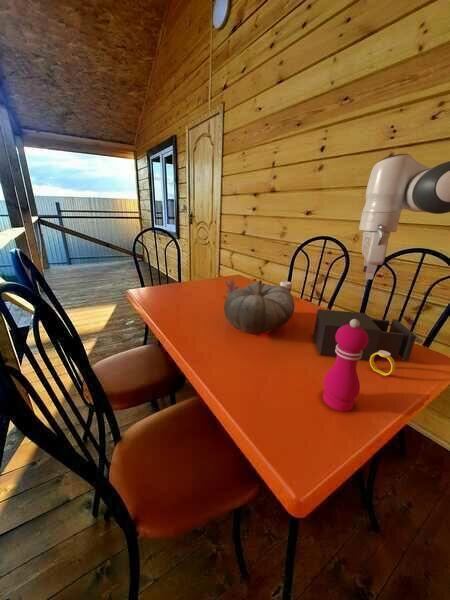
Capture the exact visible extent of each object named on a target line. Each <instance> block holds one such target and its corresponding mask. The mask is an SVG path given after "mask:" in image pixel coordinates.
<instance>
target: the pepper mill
mask: <svg viewBox="0 0 450 600" xmlns="http://www.w3.org/2000/svg"><path fill="white" fill-rule="evenodd" d="M359 325H360V322H359V321H358V320H357V319H352V320H351V321H350V325H344V326H342V327H340V328H339V329H338V330H337V332H336V336H335V338H336V342H337V343H338V344H337V345H336V349H335V352H336V353H337V357H335V358H336V359H335V361H334V364H333V365H332V366H331V368H329V370H328V371H327V372H326V373H325V376H324V378H323V387H324V390H323V393H322V400H323V402H324V403H325V404H326V405H327V406H328V407H329V408H331V409H333V410H336V411H339V412H348V411H350V410H352V409H353V408H354V404H355V398H357V397H358V396H359V394H360V392H361V391H360V389H361V385H360V384H361V383H360V378H359V375H358V372H357V365H358V362H359V361H360V360H359V359H361V357H362V353H363V351H362V350H363V349H364V348H366V346H367V344H368V335H367V333H366V331H365V330H364V329H362V328H361V327H359Z"/></svg>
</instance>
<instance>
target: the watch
mask: <svg viewBox="0 0 450 600" xmlns="http://www.w3.org/2000/svg"><path fill="white" fill-rule="evenodd" d="M377 354H378V355H377ZM390 355H391V354H390V353H389V352H387V351H383V350H380V351H378V352H377V353H374V354H373V355H372V356H371V357H370V361H369V364H370V367H371V368H372V370H373V371H374V372H376V373H378V374H380V375H382V376H384V377H386V376H389V375H392V374H393V373H394V372H395V370H396V362H395V360H394V357H391V356H390ZM376 356H380V357H381V358H384V359H387V360H388V361H389V363H390V371H389V372H386V371H383V370H381V369H379V368H378V367H377V366H376V363H375V357H376Z"/></svg>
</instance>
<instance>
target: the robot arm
mask: <svg viewBox="0 0 450 600" xmlns="http://www.w3.org/2000/svg"><path fill="white" fill-rule="evenodd" d="M403 210H408V211H411V212H414V213H428V214H435V215H442V214H447V213H450V160H449V161H445V162H442V163H439V164H438V165H436V166H434V167H430V166H427V165H425V164H423V163H421V162H419V161H418V160H416V159H415V158H414V157H413V156H412V155H411V154H410V153H398V154H394V155H389V156H385V157H384V158H381V159H380V160H379V161H377V162H376V163H375V164H374V165H373V167H372V169H371V172H370V174H369V178H368V182H367V185H366V189H365V203H364V207H363V209H362V211H361V217H360V220H359V225H358V231H363V233H362V241H361V243H362V244H361V254H362V256H363V266H362V272H363V273H365V275H364V277H365V280H374V276H375V273H376V270H377V269H378V266H382V265H383V264H384V262H385V259H386V255H387V250H388V249H387V248H388V245H389V239H390V236H391V233H397V230H398V226H399V223H400V219H401V214H402V211H403Z"/></svg>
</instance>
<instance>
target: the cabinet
mask: <svg viewBox="0 0 450 600" xmlns="http://www.w3.org/2000/svg"><path fill="white" fill-rule="evenodd" d="M352 319H357V320H358V321H359V322H360V325H359V327H361V328H362V329H364V330H365V331H366V333H367V335H368V344H367V346H366V348H364V349H363V350H362V351H363V353H362V357H361V359H359V360H358V361H369V362H370V357H371V356H372V355H373V354H374V353H376V350H377V346H378V342H379V338H380V334H381V331H382V330H381V329H380V328H379V327H378V326H377V325H376V324H375V323H374V322H373V321H372V320H371V319H372V318H371V317H369V315H368V314H367V313H366V312H355V311H345V310H343V311H342V310H333V309H332V310H331V309H321V308H317V310H316V317H315V323H314V329H313V339H314V341H315V345H316V347H317V351H318V353H319V355H320V356H324V357H334V358H337V353H336V352H335V349H336V345H337V344H338V343H337V342H336V338H335V336H336V332H337V330H338V329H339V328H340V327H342V326H344V325H350V321H351V320H352Z"/></svg>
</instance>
